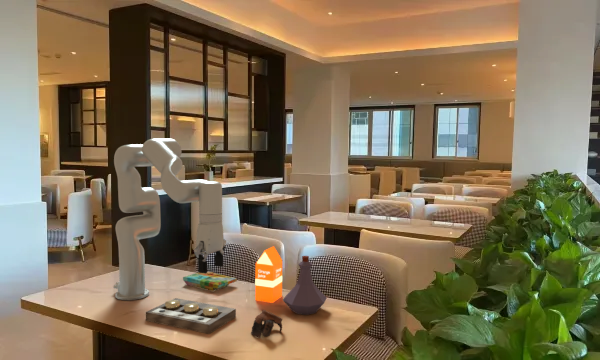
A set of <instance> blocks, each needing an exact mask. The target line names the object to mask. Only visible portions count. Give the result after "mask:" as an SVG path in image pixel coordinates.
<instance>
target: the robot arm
mask: <svg viewBox="0 0 600 360" xmlns="http://www.w3.org/2000/svg"><path fill="white" fill-rule="evenodd" d="M181 156H182V147H181V145H180V143H179V142H178V141H177V140H176V139H173V138H150V139H147V140H146V141H145V142H144V143H143V144H141V143H140V144H138V143H136V144H133V143H132V144H124V145H121V146H119V147H118V148H116V150H115V153H114V156H113V158H114V159H113V164H114V168H115V172H116V176H117V191H118V195H117V196H118V207H119V209H120V211H121V212H122V213H126V214H129V213H130V214H131V213H141V212H142V213H143V214H139V215H138V214H136V215H130V216H125V217H122V218H120V219H119V220H118V221H117V222H116V224H115V234H116V235H115V236H116V239H117V245H118V263H119V264H118V270H119V271H118V273H119V274H118V275H119V276H118V277H119V279H118V281H117V282H116V283H115V284H114V285H113V286H112V287H113V288H114V289H116V290H117V291H116V293H115V294H114V295H115V298H116V299H117V300H121V301H134V300H135V301H137V300H141V299H143V298H146V297H148V296H149V295H150V290H149V289H147V288H146V273H145V272H146V271H145V270H146V269H145V267H146V265H145V260H146V259H145V249H144V247H143V245H142V244H141V242H140V240H143V239H150V238H154V237H156V236H158V235H159V234H160V231H161V227H162V226H161V225H162V224H161V223H162V222H161V200H160V196H159V193H158V192H157V190H156V189H155V188H153V187H150V186H149V187H148V186H147V187H146V186H145V187H142V179H141V178H142V177H141V174H140V173H139V171H138V169H136V167H154V168H155V169H156V170H157V171H158V172H159V173H160V184H161V189H162V190H163V191H164V192H165V193H166V195H167V196H168V197H169V198H171V200H173V202H176V203H177V204H178V203H179V204H188V203H197V202H198V219H199V220H198V225H197V229H196V239H195V248H194V250H193V252H194V255H195V259H196V261H197V265H198V266H197V270H198V271H197V273H198V272H199V273H205V274H206V273H207V272H208V261H207V258H208V256H209V255H210V254H214V253H215V254H214V257H213V258H214V260H213V261H214V266H215V267H220V268H223V267H224V255H225V249H226V245H227V240H226V239H225V238H224V228H223V186H222V183H221V182H220V181H213V180H212V181H211V180H210V181H209V180H207V179H188V180H187V179H186V180H181V179H179V178H178V177H177V175H178V174H179V173H180V172H181V170H183V161H182V159H181V158H180V157H181Z"/></svg>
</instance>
